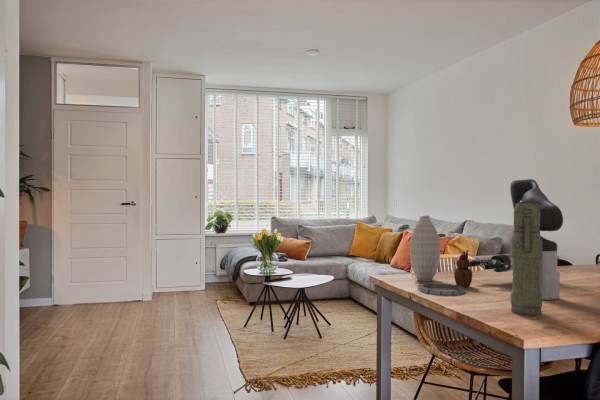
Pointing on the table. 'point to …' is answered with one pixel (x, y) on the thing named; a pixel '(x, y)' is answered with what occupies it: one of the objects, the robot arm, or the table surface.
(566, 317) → the table surface
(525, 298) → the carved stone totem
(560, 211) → the robot arm
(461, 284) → the wooden figurine
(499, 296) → the table surface
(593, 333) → the table surface
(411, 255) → the vase
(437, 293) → the steel ring
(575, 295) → the table surface
